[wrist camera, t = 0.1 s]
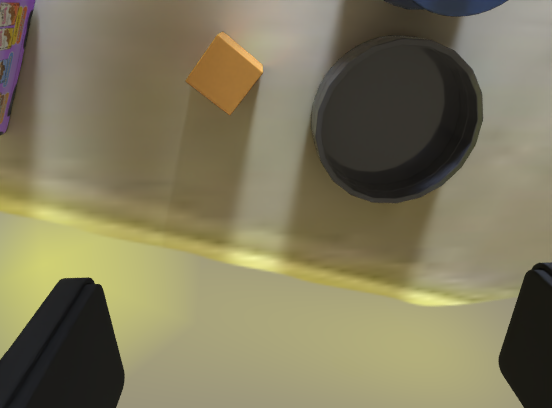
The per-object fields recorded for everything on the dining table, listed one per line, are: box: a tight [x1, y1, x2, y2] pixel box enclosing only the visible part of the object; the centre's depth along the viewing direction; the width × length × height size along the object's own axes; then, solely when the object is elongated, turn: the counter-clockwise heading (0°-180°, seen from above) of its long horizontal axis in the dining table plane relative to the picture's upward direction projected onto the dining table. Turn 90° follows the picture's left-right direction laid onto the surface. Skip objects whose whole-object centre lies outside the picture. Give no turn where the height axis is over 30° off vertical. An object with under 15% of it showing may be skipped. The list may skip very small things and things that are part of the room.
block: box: [186, 32, 263, 115], centre depth 34 cm, size 4×4×4 cm
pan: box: [311, 35, 483, 203], centre depth 37 cm, size 15×15×4 cm
